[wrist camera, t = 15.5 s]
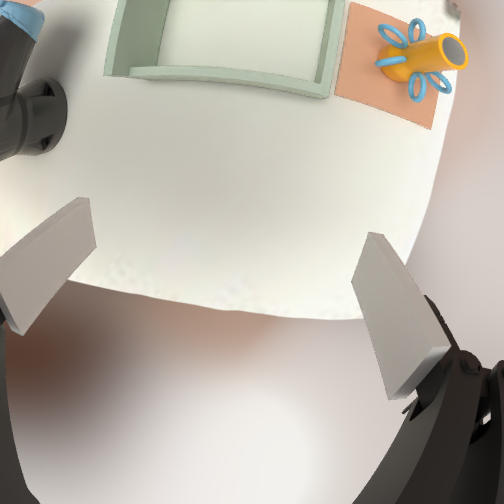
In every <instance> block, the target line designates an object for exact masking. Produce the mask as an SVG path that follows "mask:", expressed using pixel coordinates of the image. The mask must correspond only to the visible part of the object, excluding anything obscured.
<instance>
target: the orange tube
mask: <svg viewBox="0 0 504 504" xmlns="http://www.w3.org/2000/svg"><path fill="white" fill-rule="evenodd" d="M417 24H419V27H420V34H419V37H418V39H417V40H416V41H415V40H414V28H415V26H416V25H417ZM384 29H387V30H389V31H391V32H393V33H394V34H396V35H397V36H398V37H399V38H400V40H401V41H394V40H393V39H391V38H390V37H389V36H388V35H387V34H386V33H385V31H384ZM378 32H379V33H380V35H381V36H382V37H383V38H384V39H385V40H386V41H387V42H388V43H390V44H389V45H387V46H385V47H384V48H382V49H381V51H380V53H379V58H378V59H379V60H378V61H376V62H375V66H377V67H381V69H382V71H383V72H384V74H385V75H386V76H387V77H389V78H390V79H392V80H394V81H396V82H409V83H408V93H409V96H410V98H411V100H412V101H413V102H416V103H418V102H421V101H422V100H423V98H424V96H425V94H426V88H427V84H426V79H427V80H428V82H429V83H430V84H431V85H432V86H433V87H435V88H436V89H437V90H439V91H440V92H442V93H445V94H449V93H451V91H452V87H451V85H450V83H449V81H448V80H447V79H446V78H445V77H444V76H443V75H442V74H441V73H439V72H438V71H448V70H461V69H464V68H465V67H466V66H467V64H468V53H467V50H466V48H465V46H464V44H463V43H462V42H461V40H460V39H459V38H457V37H456V36H455V35H453V34H450V33H444V34H440V35H437V36H434V37H430V38H427V39H425V35H426V28H425V25H424V23H423V21H422V20H420V19H418V18H415V19H413V20H412V21H411V22H410V24H409V28H408V38H409V41H410V42H408V41H407V39H406V37H405V36H404V35H403V34H402V33H401V32H400V31H399V30H398V29H396V28H395V27H393V26H391V25H389V24H380V25H378ZM430 74H432V75H434V76H436V77H438V78H439V79H440V80H441V81H442V82H443V83H444V84H445V86H446V88H443V87H441V86H440V85H438V84H437V83H436V82H435V81H434V80H433V79H432V78H431V76H430ZM424 75H425V77H426V79H425V77H424ZM417 80H420V84H421V86H420V92H419V94H418V96H417V97H415V95H414V83H415V81H417Z"/></svg>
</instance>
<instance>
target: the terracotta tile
mask: <svg viewBox="0 0 504 504" xmlns="http://www.w3.org/2000/svg"><path fill="white" fill-rule="evenodd" d="M380 24H389V25H391V26H393V27H395V28H396V29H398V30H399V31H400V32H401V33H402V34H403V35H404V36H405V37H406V39H407V41H408V42H410V41H409V38H408V28H409V24H407V23H405V22H403V21H401V20H398V19H396V18H394V17H391V16H389V15H387V14H384V13H382V12H379V11H377V10H374V9H371V8H369V7H366V6H363V5H360V4H357V3H354V2H351V3H350V5H349V12H348V19H347V25H346V32H345V38H344V44H343V50H342V56H341V61H340V67H339V72H338V77H337V83H336V88H335V93H334V95H337V96H341V97H344V98H348V99H351V100H354V101H357V102H360V103H364V104H367V105H370V106H372V107H375V108H378V109H381V110H384V111H386V112H389V113H392V114H394V115H397V116H399V117H402V118H404V119H407V120H409V121H411V122H414V123H416V124H418V125H420V126H423V127H425V128H427V129H430V130H431V127H432V123H433V118H434V113H435V109H436V103H437V98H438V92H439V90H437V89H436V88H435V87H433V86H432V85H431V84H430V83H429V82H428V80H427V79H426V77H425V75H424V77H425V79H426V84H427V88H426V94H425V96H424V98H423V100H422V101H421V102H418V103H416V102H413V101H412V100H411V98H410V96H409V93H408V83H409V82H396V81H394V80H392V79H390V78H389V77H387V76H386V75H385V74H384V72H383V71H382V69H381V67H377V66H375V62H376V61H378V60H379V59H378V58H379V53H380V51H381V49H382V48H384V47H385V46H387V45H389V44H390V43H388V42H387V41H386V40H385V39H384V38H383V37H382V36H381V35H380V33H379V32H378V25H380ZM384 31H385V33H386V34H387V35H388V36H389V37H390V38H391V39H393V40H394V41H401V40H400V38H399V37H398V36H397V35H396V34H394V33H393V32H391V31H389V30H387V29H384ZM419 34H420V30H419V29H417V28H414V40H415V41H416V40H417V39H418V37H419ZM430 37H433V36H431V35H429V34H427V33H426V35H425V39H427V38H430ZM438 72H439V73H441V72H442V71H438ZM430 76H431V78H432V79H433V80H434V81H435V82H436V83H437V84H438V85H440V79H439V78H438V77H436V76H434V75H432V74H430ZM420 86H421V84H420V80H417V81H415V83H414V95H415V97H417V96H418V94H419V92H420Z"/></svg>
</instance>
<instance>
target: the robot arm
mask: <svg viewBox="0 0 504 504" xmlns="http://www.w3.org/2000/svg"><path fill="white" fill-rule="evenodd" d="M44 21H45V16H44V14H43V12H42V11H40V10H38V9H36V8H33V7H30V6H28V5H24V4H21V3H17V2H12V1H5V0H0V161H2V160H4V159H7V158H9V157H11V156H13V155H31V156H36V155H40V154H43V153H45V152H48V151H50V150H51V149H52V148H53V147H54V146H55V145H56V144H57V143H58V141H59V140H60V138H61V136H62V133H63V131H64V127H65V123H66V117H67V103H66V97H65V94H64V91H63V89H62V87H61V86H60V85H59V83H58V82H56V81H55V80H52V79H39V80H35V81H33V82H31V83H29V84H27V85H25V86H24V87H22V88H20V89H18V87H19V84H20V81H21V78H22V75H23V73H24V70H25V67H26V64H27V62H28V59H29V57H30V54H31V52H32V50H33V47H34V45H35V43H37V37H38V35H39V33H40V30H41V28H42V26H43V24H44ZM95 248H96V241H95V236H94V230H93V223H92V217H91V209H90V201H89V198H80V197H78V198H76V199H75V200H73V201H72V202H70V203H69V204H67V205H66V206H64V207H63V208H61V209H60V210H59V211H57V212H56V213H54V214H53V215H52V216H50V217H49V218H48V219H46V220H45V221H44V222H42V223H41V224H40V225H38V226H37V227H36V228H35V229H33V230H32V231H31V232H30V233H28V234H27V235H26V236H25V237H23V238H22V239H21V240H20V241H19V242H17V243H16V244H15V245H14V246H13V247H11V248H10V249H9V250H8V251H7V252H6V253H5V254H4V255H2V256H1V257H0V504H40V503H39V501H38V500H37V499H36V498H35V497H34V496H33V495H32V493H31V492H30V491H29V490H28V488H27V485H26V483H25V480H24V477H23V473H22V470H21V467H20V463H19V459H18V455H17V451H16V447H15V443H14V438H13V433H12V427H11V421H10V415H9V407H8V400H7V388H6V373H5V327H4V326H3V324H2V323H3V322H4V321H5V320H7V322H8V324H9V326H10V328H11V330H12V331H14V332H16V333H18V334H20V335H22V336H23V335H24V334H25V333H26V331H27V329H28V328H29V327H30V325H31V324H32V323H33V321H34V320H35V319H36V318H37V316H38V315H39V313H40V312H41V311H42V310H43V308H44V307H45V306H46V304H47V303H48V302H49V301H50V300H51V298H52V297H53V296H54V294H55V293H56V292H57V291H58V290H59V289H60V287H61V286H62V285H63V284H64V283H65V281H66V280H67V279H68V278H69V277H70V276H71V274H72V273H73V272H74V271H75V270H76V269H77V268H78V267H79V265H80V264H81V263H82V262H83V261H84V260H85V259H86V258H87V257H88V256H89V255H90V254H91V252H92V251H93V250H94V249H95ZM351 283H352V285H353V288H354V291H355V293H356V296H357V299H358V302H359V305H360V308H361V310H362V313H363V316H364V319H365V322H366V325H367V328H368V331H369V334H370V338H371V341H372V344H373V347H374V351H375V354H376V357H377V361H378V364H379V367H380V371H381V375H382V378H383V382H384V386H385V390H386V393H387V397H388V400H395V399H404V398H407V397H408V396H409V395H410V394H411V393H412V392H413V391H414V390H415V389H416V391H417V394H418V397H417V398H416V399H415V400H414V401H413V402H412V403H411V404H410V405H409V406H408V407H406V408H405V409H404V411H403V412H402V414H405V413H406V412H407V411H408V410H409V412H408V414H407V416H406V418H405V420H404V422H403V424H402V426H401V428H400V430H399V432H398V434H397V436H396V438H395V439H394V441H393V443H392V445H391V447H390V448H389V450H388V452H387V454H386V455H385V457H384V458H383V460H382V461H381V463H380V465H379V466H378V468H377V470H376V471H375V473H374V474H373V476H372V477H371V479H370V480H369V482H368V483H367V484H366V486H365V487H364V489H363V490H362V491H361V493H360V494H359V496H358V497H357V498H356V499H355V501H354V502H353V503H352V504H504V360H501V361H499V362H498V363H497V365H495V367H494V368H493V369H492V370H491V369H487V368H482V366H481V363H480V361H479V360H478V359H477V357H476V356H475V355H473V354H472V353H470V352H468V351H466V350H460V349H459V347H458V345H457V343H456V341H455V339H454V337H453V335H452V333H451V331H450V330H449V328H448V326H447V324H446V323H445V321H444V319H443V317H442V316H441V315H440V312H439V310H438V309H437V307H436V305H435V304H434V303H433V302H432V301H431V300H430V299H429V298H428V297H427V296H426V295H423V294H422V292H421V291H420V289H419V287H418V286H417V284H416V282H415V281H414V279H413V278H412V276H411V274H410V273H409V271H408V270H407V268H406V267H405V265H404V264H403V262H402V261H401V259H400V258H399V256H398V255H397V253H396V252H395V250H394V249H393V248H392V246H391V245H390V243H389V242H388V240H387V239H386V238H385V236H384V235H383V234H378V233H373V232H368V235H367V238H366V241H365V244H364V247H363V250H362V253H361V256H360V259H359V262H358V264H357V267H356V270H355V273H354V275H353V278H352V281H351ZM490 412H491V419H490V420H489V421H488V422H487V423H486V424H483V418H484V417H485V416H487V415H488V414H489V413H490Z"/></svg>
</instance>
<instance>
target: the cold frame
mask: <svg viewBox="0 0 504 504" xmlns="http://www.w3.org/2000/svg"><path fill="white" fill-rule="evenodd" d="M169 2H170V0H119V1H118V4H117V8H116V12H115V16H114V20H113V24H112V29H111V33H110V38H109V43H108V49H107V55H106V61H105V67H104V75H103V76H114V77H126V78H136V79H144V80H197V81H212V82H224V83H233V84H242V85H250V86H257V87H263V88H269V89H275V90H281V91H286V92H291V93H296V94H301V95H305V96H310V97H314V98H318V99H323V98H328V97H329V92H330V86H331V81H332V76H333V71H334V65H335V60H336V54H337V48H338V43H339V37H340V30H341V24H342V18H343V11H344V4H345V0H329V5H328V11H327V17H326V23H325V29H324V35H323V40H322V46H321V52H320V57H319V62H318V68H317V73H316V78H315V83H314V82H310V81H305V80H301V79H296V78H291V77H286V76H280V75H275V74H269V73H262V72H255V71H248V70H239V69H229V68H217V67H201V66H156V65H157V59H158V53H159V48H160V43H161V37H162V33H163V28H164V23H165V19H166V14H167V10H168V6H169Z"/></svg>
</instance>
